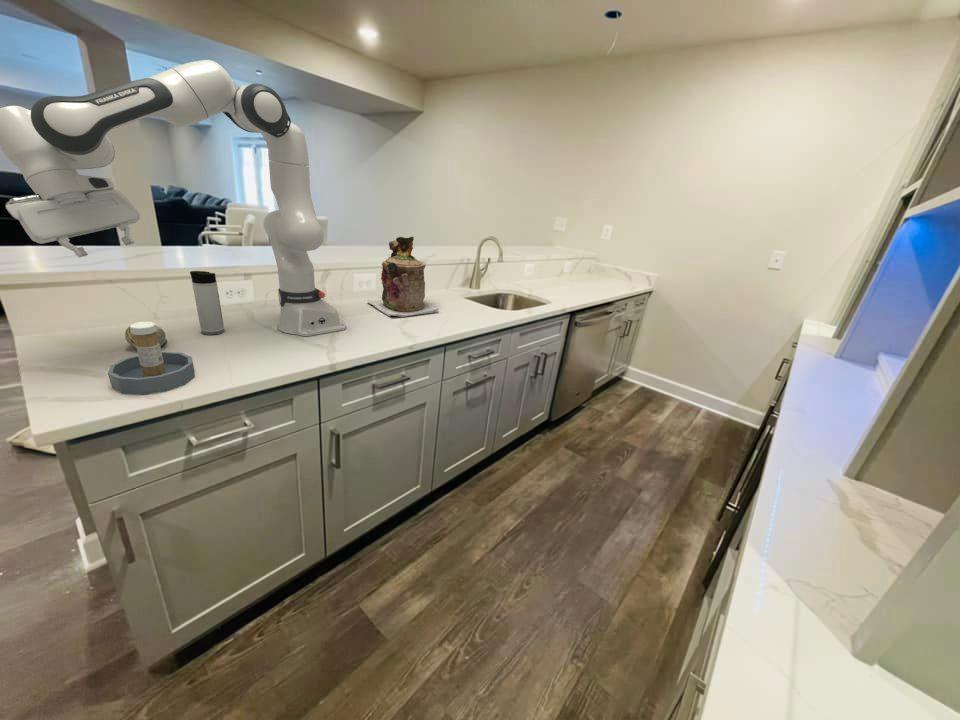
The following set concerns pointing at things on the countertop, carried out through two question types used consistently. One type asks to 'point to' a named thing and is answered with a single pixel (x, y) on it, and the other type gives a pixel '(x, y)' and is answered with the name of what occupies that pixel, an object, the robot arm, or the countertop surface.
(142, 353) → the sprinkles bottle
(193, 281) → the travel mug
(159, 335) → the seashell
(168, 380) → the slate bowl
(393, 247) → the cookie jar
